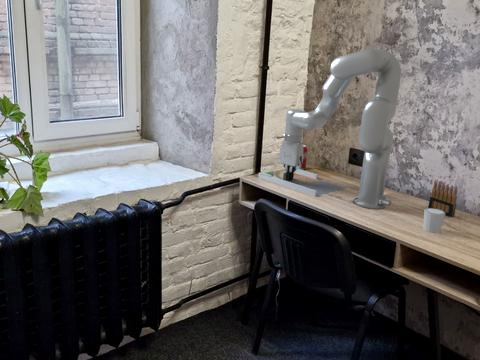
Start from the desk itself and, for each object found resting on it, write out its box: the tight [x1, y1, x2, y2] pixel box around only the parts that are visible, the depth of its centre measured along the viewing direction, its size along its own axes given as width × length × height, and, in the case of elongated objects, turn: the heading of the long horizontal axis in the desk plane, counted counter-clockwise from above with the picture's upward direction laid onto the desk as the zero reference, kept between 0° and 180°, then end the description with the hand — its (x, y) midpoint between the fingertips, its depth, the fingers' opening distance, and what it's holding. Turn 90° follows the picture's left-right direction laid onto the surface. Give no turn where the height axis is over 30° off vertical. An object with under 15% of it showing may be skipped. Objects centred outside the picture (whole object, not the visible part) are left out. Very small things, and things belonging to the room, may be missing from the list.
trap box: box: [257, 169, 347, 197], centre depth 216 cm, size 32×22×4 cm
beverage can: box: [300, 144, 308, 171], centre depth 243 cm, size 6×6×12 cm
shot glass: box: [422, 207, 446, 234], centre depth 172 cm, size 7×7×7 cm
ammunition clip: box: [427, 180, 458, 218], centre depth 191 cm, size 11×2×12 cm, turn 33°
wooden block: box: [273, 167, 288, 181], centre depth 218 cm, size 6×6×4 cm
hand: (289, 180), depth 214 cm, fingers closed
